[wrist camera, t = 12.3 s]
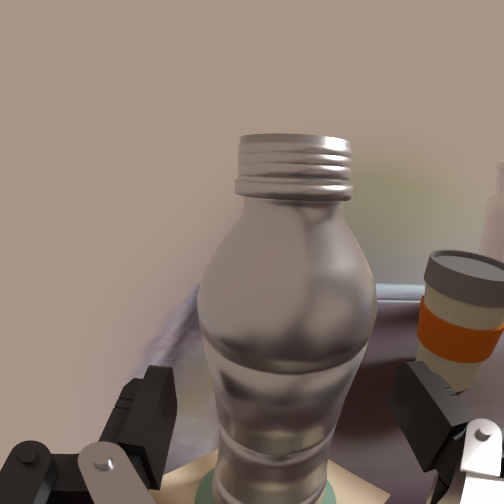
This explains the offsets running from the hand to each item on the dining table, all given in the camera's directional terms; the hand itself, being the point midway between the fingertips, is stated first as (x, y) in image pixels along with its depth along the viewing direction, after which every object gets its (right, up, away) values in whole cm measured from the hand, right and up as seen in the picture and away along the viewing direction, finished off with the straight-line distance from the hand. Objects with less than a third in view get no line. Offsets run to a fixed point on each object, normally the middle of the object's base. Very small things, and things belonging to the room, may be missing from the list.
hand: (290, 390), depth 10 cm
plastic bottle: (0, -11, +5) cm, 12 cm away
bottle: (+48, -7, +43) cm, 65 cm away
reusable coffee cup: (+24, -11, +24) cm, 35 cm away
